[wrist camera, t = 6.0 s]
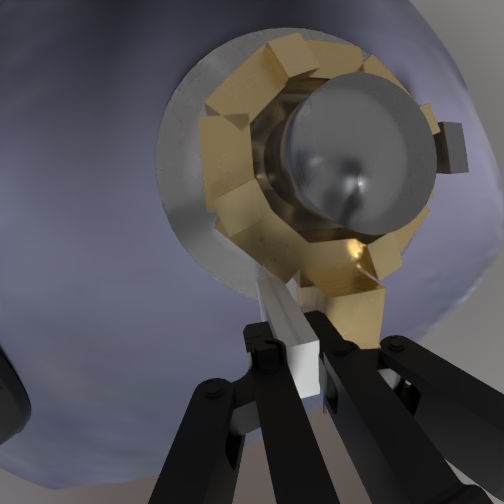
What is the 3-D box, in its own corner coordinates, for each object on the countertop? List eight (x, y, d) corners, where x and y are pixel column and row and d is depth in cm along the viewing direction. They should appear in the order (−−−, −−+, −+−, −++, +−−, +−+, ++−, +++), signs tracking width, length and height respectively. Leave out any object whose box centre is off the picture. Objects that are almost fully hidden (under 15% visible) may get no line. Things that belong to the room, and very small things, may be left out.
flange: (379, 307, 21) (447, 368, 12) (142, 269, 18) (90, 340, 9) (425, 95, 17) (506, 74, 8) (201, 18, 14) (196, -68, 5)
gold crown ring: (397, 310, 18) (437, 343, 14) (226, 340, 17) (229, 392, 12) (391, 73, 14) (438, 52, 9) (198, 64, 13) (191, 21, 8)
